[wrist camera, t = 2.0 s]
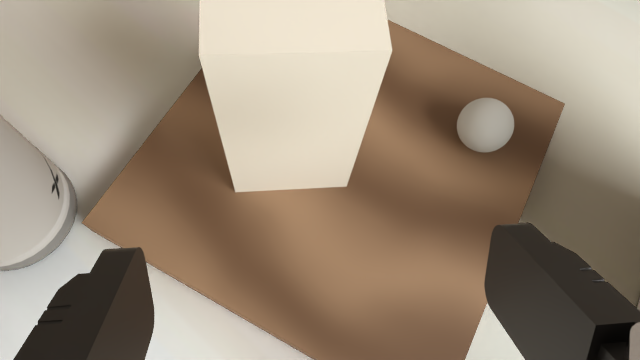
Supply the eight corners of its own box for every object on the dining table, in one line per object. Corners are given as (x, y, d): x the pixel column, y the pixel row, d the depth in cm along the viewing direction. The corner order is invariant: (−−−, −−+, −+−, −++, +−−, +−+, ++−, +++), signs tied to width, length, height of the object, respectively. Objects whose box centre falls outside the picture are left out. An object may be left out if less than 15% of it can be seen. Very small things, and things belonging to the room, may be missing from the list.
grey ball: (460, 106, 29) (480, 78, 26) (507, 129, 28) (531, 102, 26) (441, 145, 28) (459, 120, 25) (489, 170, 27) (513, 147, 25)
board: (279, -15, 33) (279, -32, 32) (552, 115, 31) (564, 103, 29) (92, 230, 26) (81, 222, 25) (428, 425, 24) (437, 429, 22)
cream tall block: (346, 186, 26) (392, 50, 15) (235, 192, 26) (198, 55, 15) (337, 106, 28) (373, -67, 17) (233, 110, 28) (200, -67, 16)
